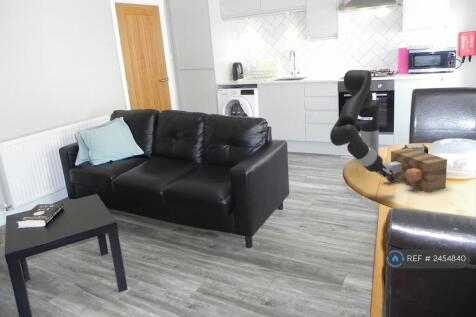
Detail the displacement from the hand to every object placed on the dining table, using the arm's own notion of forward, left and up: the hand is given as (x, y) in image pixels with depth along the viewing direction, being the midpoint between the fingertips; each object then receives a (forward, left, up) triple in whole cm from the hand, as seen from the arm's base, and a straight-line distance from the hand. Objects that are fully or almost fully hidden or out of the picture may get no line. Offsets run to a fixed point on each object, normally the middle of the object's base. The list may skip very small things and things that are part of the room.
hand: (392, 180), depth 171 cm
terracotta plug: (0, +15, -2) cm, 15 cm away
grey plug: (-12, +12, -2) cm, 17 cm away
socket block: (-6, +19, -7) cm, 21 cm away
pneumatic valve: (-24, +34, -7) cm, 42 cm away
